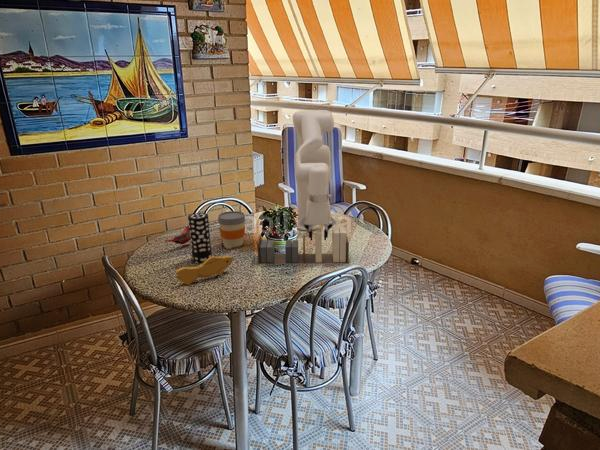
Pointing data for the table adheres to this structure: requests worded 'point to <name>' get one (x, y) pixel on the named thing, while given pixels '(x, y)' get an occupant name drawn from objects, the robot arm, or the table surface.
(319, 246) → the cream book
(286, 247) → the grey books
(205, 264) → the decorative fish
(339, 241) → the cream books
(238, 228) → the reusable coffee cup
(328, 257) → the book rack
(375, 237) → the table surface
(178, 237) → the decorative bird figurine
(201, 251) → the white-spotted black cylinder
